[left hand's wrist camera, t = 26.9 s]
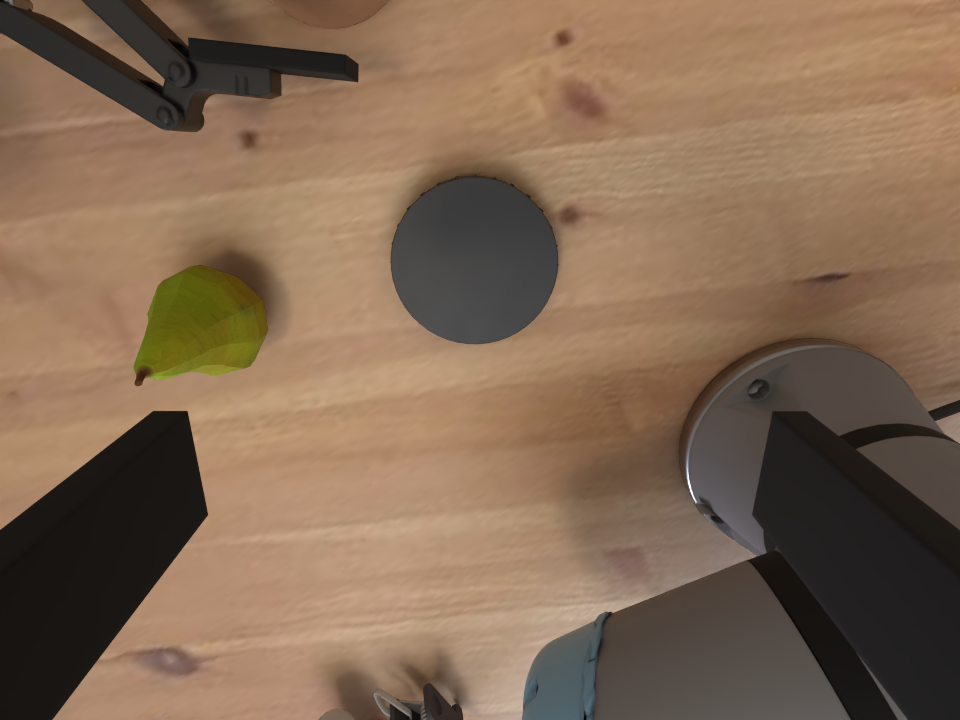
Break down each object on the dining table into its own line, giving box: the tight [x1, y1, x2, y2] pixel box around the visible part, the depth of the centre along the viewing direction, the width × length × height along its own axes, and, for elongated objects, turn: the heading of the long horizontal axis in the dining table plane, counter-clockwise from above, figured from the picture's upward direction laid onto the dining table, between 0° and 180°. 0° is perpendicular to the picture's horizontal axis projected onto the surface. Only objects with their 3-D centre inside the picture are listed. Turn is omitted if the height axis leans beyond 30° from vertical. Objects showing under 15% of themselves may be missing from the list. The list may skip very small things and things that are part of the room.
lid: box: [391, 174, 558, 344], centre depth 33 cm, size 10×10×2 cm
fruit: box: [134, 265, 268, 386], centre depth 30 cm, size 6×6×12 cm
